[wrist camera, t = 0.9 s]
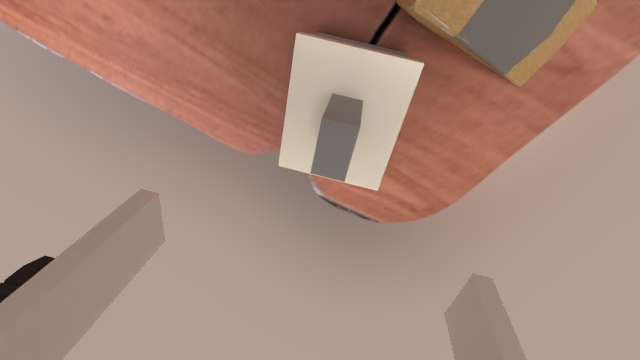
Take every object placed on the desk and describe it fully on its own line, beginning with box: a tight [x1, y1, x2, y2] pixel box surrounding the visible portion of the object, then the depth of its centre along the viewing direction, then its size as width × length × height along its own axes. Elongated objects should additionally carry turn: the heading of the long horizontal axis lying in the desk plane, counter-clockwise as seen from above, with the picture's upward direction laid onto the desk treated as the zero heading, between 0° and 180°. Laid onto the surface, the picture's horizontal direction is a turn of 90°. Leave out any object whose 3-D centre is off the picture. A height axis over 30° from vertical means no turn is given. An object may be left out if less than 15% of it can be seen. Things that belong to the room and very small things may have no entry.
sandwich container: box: [396, 0, 597, 87], centre depth 20 cm, size 9×15×15 cm, turn 61°
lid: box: [278, 32, 424, 191], centre depth 24 cm, size 12×10×8 cm
